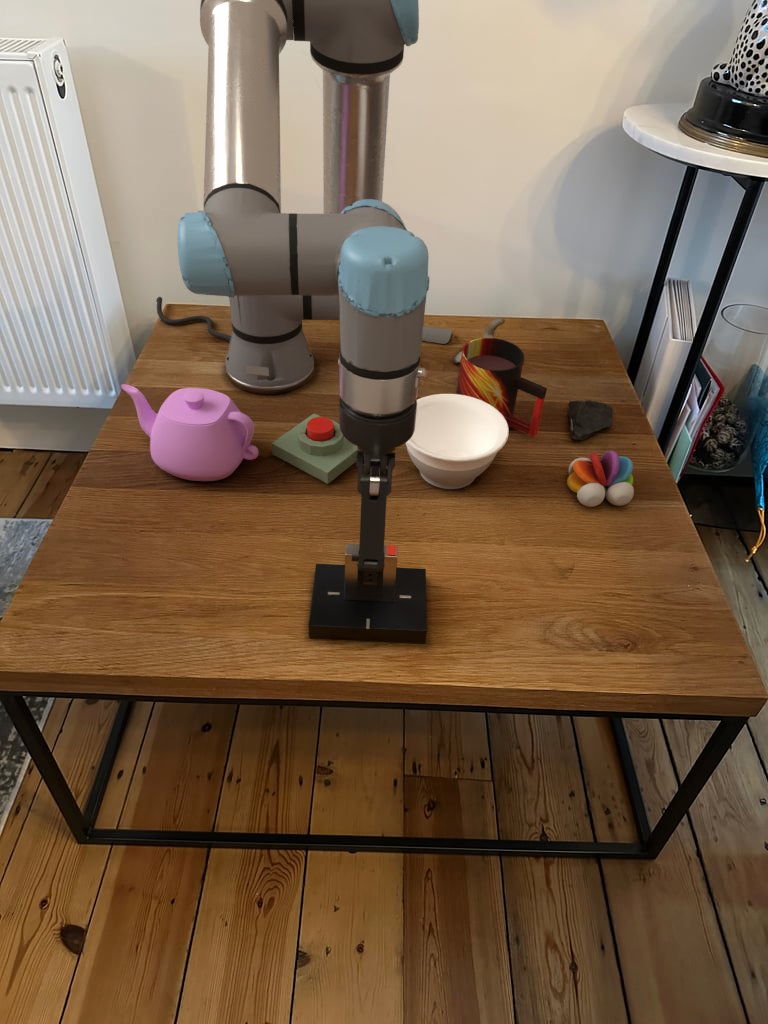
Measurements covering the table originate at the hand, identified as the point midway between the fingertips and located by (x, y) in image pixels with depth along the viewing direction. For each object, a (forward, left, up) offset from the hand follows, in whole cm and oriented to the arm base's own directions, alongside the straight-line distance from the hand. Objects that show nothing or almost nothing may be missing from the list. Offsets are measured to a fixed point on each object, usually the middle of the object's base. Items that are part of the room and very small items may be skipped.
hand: (371, 551), depth 88 cm
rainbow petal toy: (+13, +39, -11) cm, 43 cm away
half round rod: (-36, +58, -11) cm, 69 cm away
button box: (-25, +20, -11) cm, 34 cm away
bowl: (-7, +29, -11) cm, 32 cm away
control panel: (0, 0, -11) cm, 11 cm away
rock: (+5, +53, -11) cm, 55 cm away
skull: (-18, +59, -11) cm, 63 cm away
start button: (-25, +20, -7) cm, 33 cm away
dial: (0, 0, -8) cm, 8 cm away
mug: (-8, +45, -11) cm, 47 cm away
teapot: (-38, +7, -11) cm, 40 cm away
